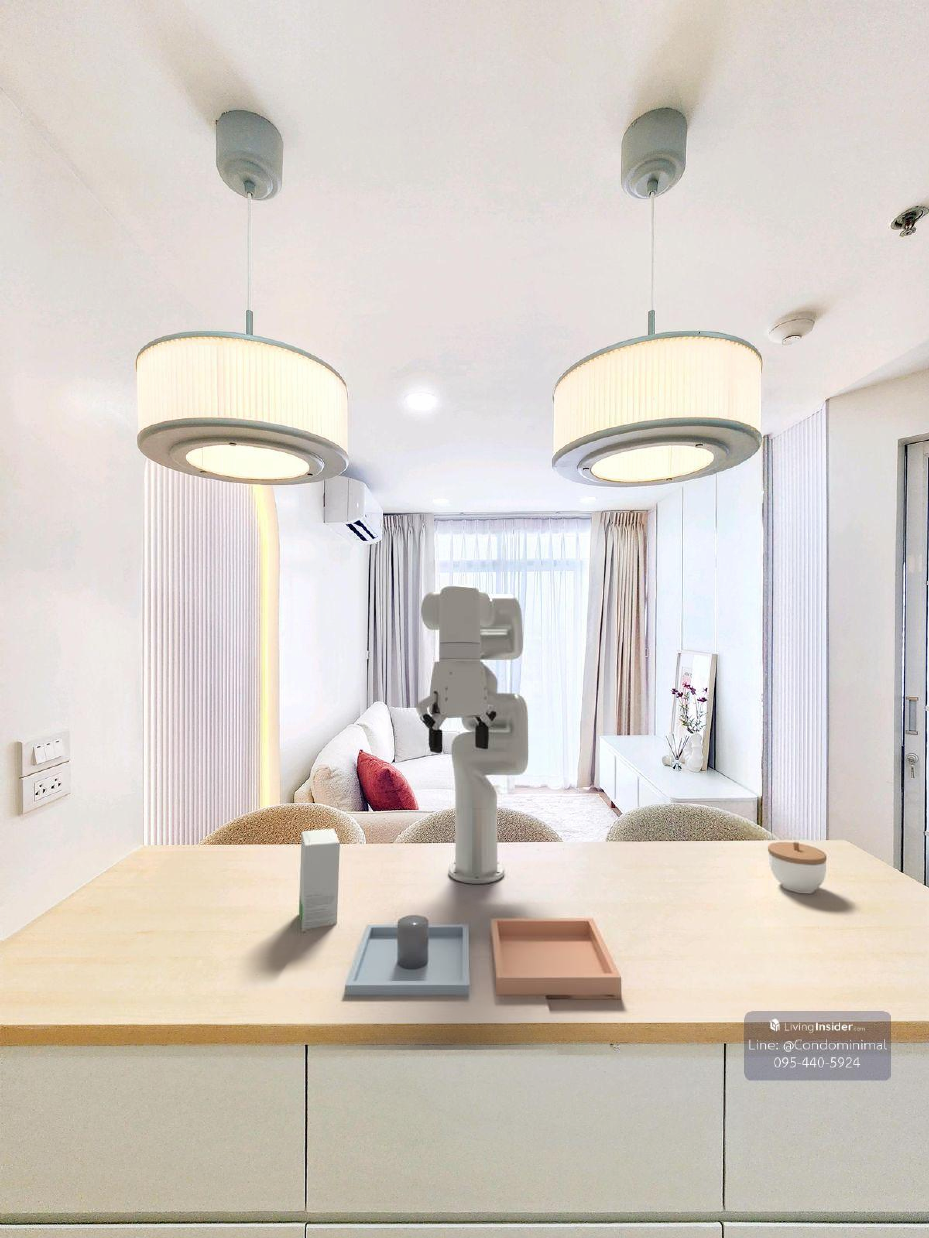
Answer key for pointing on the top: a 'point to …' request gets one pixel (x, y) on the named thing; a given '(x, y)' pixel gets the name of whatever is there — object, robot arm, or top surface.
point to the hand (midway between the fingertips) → (459, 750)
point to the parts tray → (386, 978)
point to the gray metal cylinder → (412, 942)
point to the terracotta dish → (553, 959)
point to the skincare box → (319, 878)
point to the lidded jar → (797, 866)
